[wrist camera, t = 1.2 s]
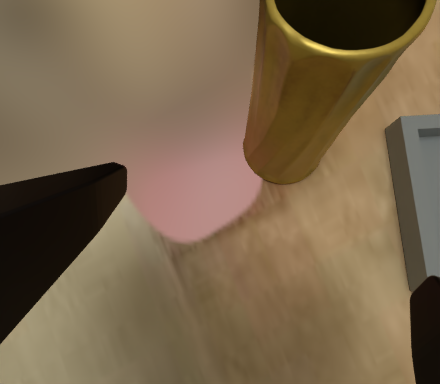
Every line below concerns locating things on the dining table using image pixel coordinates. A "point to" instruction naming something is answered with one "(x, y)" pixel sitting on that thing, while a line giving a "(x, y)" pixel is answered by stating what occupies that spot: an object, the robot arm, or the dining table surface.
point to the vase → (319, 74)
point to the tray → (417, 191)
